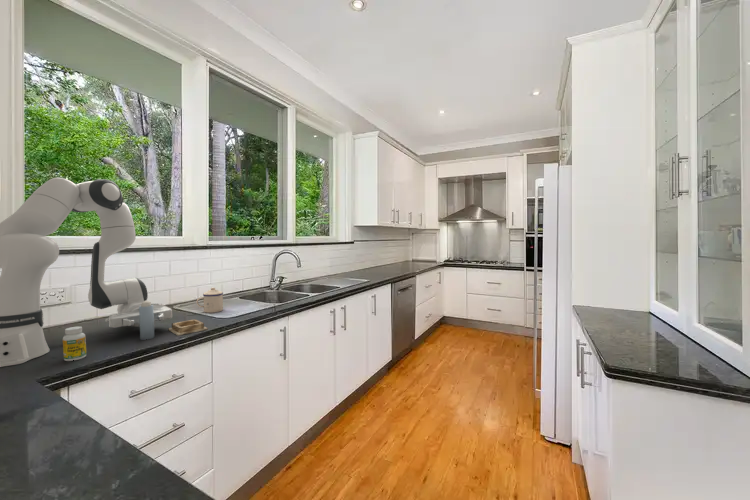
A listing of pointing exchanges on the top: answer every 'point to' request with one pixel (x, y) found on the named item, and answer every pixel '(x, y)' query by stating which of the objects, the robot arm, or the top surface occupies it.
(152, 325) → the blue bottle
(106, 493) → the top surface
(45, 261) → the robot arm
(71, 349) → the supplement bottle
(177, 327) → the cradle jig
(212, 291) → the teacup with lid
